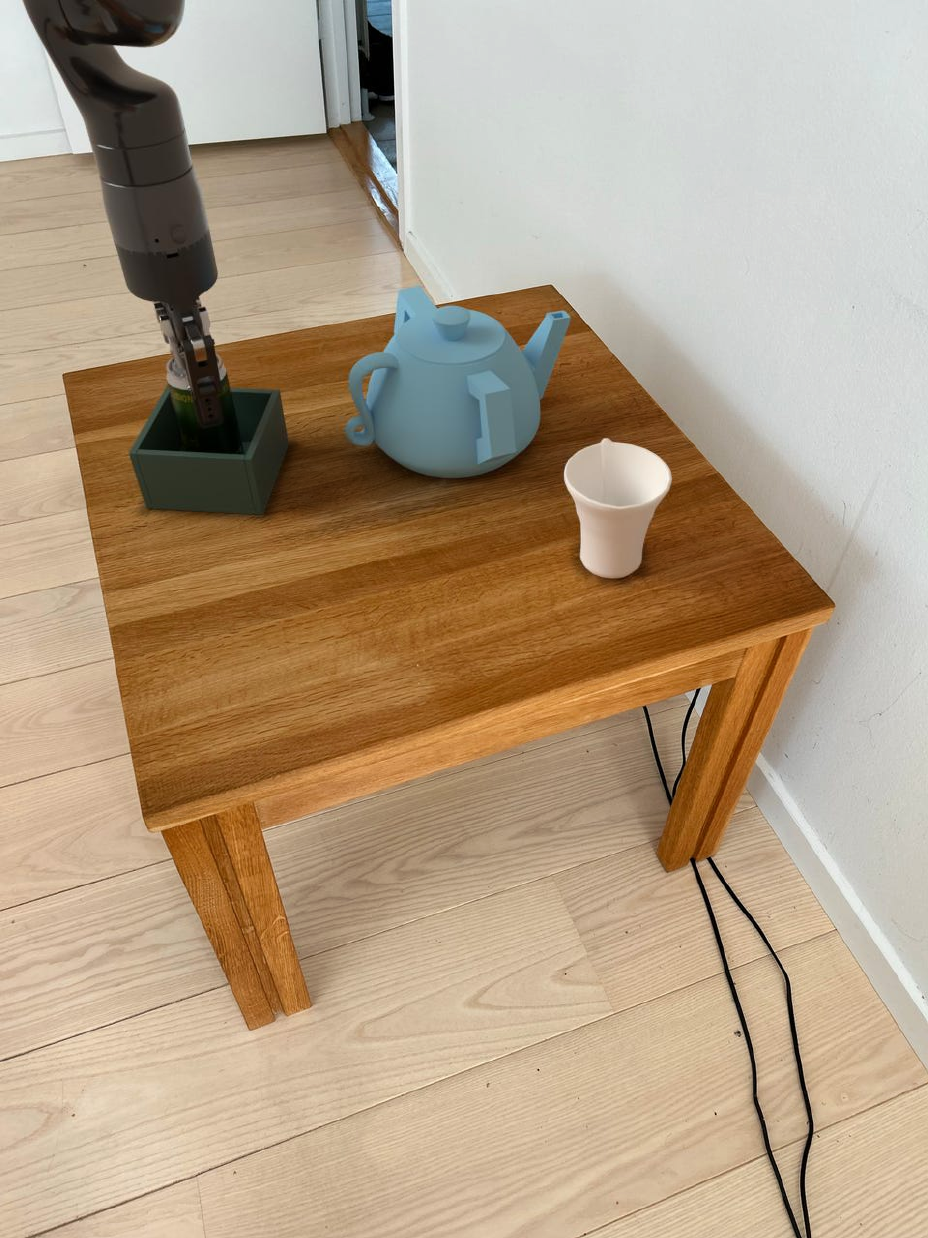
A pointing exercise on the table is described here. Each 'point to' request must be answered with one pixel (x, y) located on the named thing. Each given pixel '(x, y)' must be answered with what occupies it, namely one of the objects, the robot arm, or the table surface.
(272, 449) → the open box
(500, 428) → the teapot
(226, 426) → the beer can
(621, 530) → the cup
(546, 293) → the table surface
